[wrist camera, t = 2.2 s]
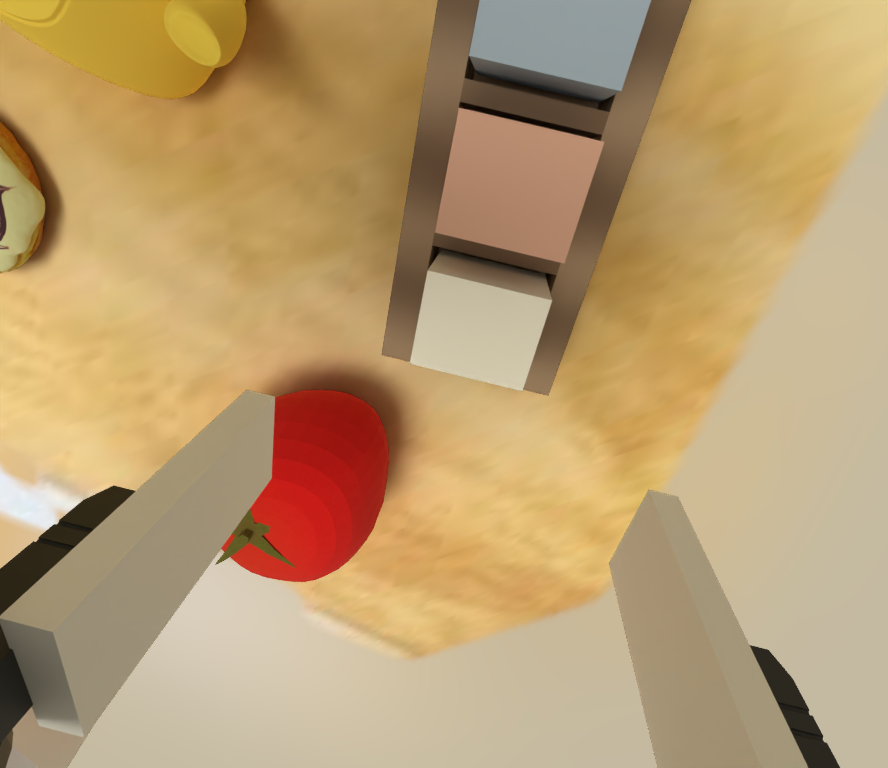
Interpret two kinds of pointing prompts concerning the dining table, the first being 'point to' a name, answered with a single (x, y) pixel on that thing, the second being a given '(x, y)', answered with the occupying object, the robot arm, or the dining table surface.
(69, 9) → the teapot
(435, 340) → the ivory key
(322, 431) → the tomato
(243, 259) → the dining table surface
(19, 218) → the decorated donut
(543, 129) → the terracotta key
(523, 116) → the key block
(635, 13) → the slate key
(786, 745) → the robot arm
